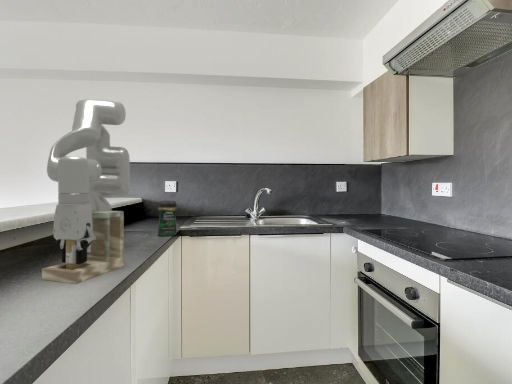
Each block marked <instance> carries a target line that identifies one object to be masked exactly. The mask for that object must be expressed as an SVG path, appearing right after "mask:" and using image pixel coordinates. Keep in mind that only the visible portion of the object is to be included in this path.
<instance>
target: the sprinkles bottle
mask: <svg viewBox="0 0 512 384" xmlns="http://www.w3.org/2000/svg"><path fill="white" fill-rule="evenodd" d="M81 239H82V238H81ZM81 242H82V243H83V240H82V241H81ZM76 250H78V247H77V242H76V240H66V269H69V270H75V269H78V268H81V267H83V263H81V264H76Z"/></svg>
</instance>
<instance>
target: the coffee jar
mask: <svg viewBox="0 0 512 384" xmlns="http://www.w3.org/2000/svg"><path fill="white" fill-rule="evenodd" d="M177 207H178V206H177V202H176V200H160V201H159V202H158V207H157V210H158V213H159V218H158V227H157V228H158V229H157V235H158V236H159V235H160V237H172V236H173V237H174V236H176V235H177V233H178V230H177V221H176V220H177V217H176V213H177V210H178V208H177Z"/></svg>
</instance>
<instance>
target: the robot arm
mask: <svg viewBox="0 0 512 384" xmlns="http://www.w3.org/2000/svg"><path fill="white" fill-rule="evenodd" d="M126 115H127V113H126V109H125V106H124V104H123V103H122V102H120V101H119V102H118V101H113V100H102V99H91V98H86V99H81V100H78V101H77V102H76V103H75V113H74V116H73V123H72V126H71V127H72V128H71V131H69V132H68V133H66V134H64V135H63V136H61V137H60V138H59V139H57V140H56V141H55V143H53V145H52V146H51V149H49V150H50V151H49V156H48V159H47V166H46V173H47V176H48V178H49V179H50V180H51V181H53V182H57V187H58V188H57V189H58V197H57V199H58V202H57V204H56V206H55V210H54V217H53V231H52V233H53V238H54V239H55V240H56V242H57V243H58V244H59V248H60V249H61V263H66V240H76V242H77V247H78V250H76V264H81V263H85V262H87V256H88V254H89V253H90V254H91V243H92V242H93V241H94V240H95V239H96V237H95V236H94V234H93V219H92V212H91V210H101V211H112V206H111V204H110V202H109V201H108V200H107V199H106V198H105V197H109V196H111V197H113V196H114V197H118V196H120V197H123V196H127V195H128V194H129V193H130V185H131V171H130V170H131V166H130V165H131V164H130V154H129V151H128V149H127V148H125V147H122V146H111V140H110V139H111V135H110V132H109V131H108V130H107V128H106V127H104V125H110V126H121V125H122V124H123V123H124V122H125V121H126ZM84 148H86V149H85V150H86V151H85V154H86V155H85V157H81V156H67V155H70V154H71V153H72V152H75V151H78V150H81V149H84ZM103 170H116V171H117V172H102V171H103ZM81 238H82V239H81ZM82 240H83V243H82V242H81V241H82Z"/></svg>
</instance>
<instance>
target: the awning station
mask: <svg viewBox="0 0 512 384" xmlns="http://www.w3.org/2000/svg"><path fill="white" fill-rule="evenodd" d="M91 212H92V219H93V234H94V236H95V237H96V239H95V240H94V241H93V242H92V243H91V253H90V255H87V262H85V263H83V267H81V268H78V269H75V270H69V269H66V263H62V262H61V263H59V264H54V265H51V266H47V267H44V268H42V269H41V280H42V281H51V282H58V283H67V284H75V285H76V284H79V283H82V282H84V281H88V280H91V279H93V278H95V277H98V276H100V275H103V274H106V273H109V272H112V271H114V270H116V269H119V268H123V267H124V266H125V265H124V264H125V259H124V258H125V254H124V253H125V248H124V247H125V246H124V245H125V244H124V243H125V242H124V239H125V238H124V237H125V234H124V233H125V232H124V229H125V228H124V224H125V223H124V222H125V221H124V220H125V219H124V218H125V216H124V215H125V214H124V211H123V210H111V211H101V210H91Z"/></svg>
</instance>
